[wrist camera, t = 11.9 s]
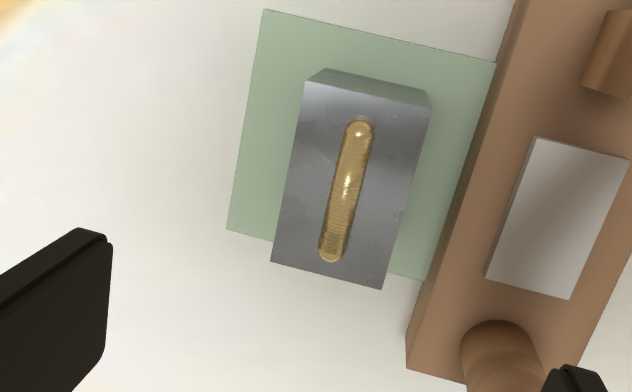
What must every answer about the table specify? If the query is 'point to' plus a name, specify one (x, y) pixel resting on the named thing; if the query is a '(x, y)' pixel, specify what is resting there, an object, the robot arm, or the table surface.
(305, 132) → the lever cap
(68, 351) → the robot arm
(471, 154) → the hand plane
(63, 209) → the table surface
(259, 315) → the table surface
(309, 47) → the mat
